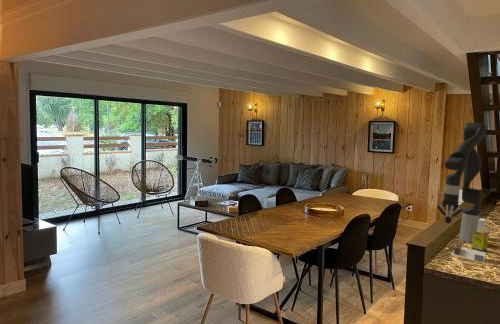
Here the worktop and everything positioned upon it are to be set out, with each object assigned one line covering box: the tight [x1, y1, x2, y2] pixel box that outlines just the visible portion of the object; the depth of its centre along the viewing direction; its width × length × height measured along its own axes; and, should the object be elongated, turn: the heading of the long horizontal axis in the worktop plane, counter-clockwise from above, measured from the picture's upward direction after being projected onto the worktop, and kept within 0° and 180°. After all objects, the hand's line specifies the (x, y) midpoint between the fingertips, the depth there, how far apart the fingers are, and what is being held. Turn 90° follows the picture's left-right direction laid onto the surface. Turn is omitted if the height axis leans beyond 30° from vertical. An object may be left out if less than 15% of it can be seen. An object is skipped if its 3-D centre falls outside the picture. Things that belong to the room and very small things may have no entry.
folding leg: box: [453, 242, 463, 255], centre depth 205 cm, size 14×2×4 cm, turn 146°
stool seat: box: [451, 247, 487, 263], centre depth 203 cm, size 21×15×2 cm
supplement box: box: [471, 230, 490, 252], centre depth 217 cm, size 6×6×11 cm
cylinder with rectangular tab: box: [478, 217, 490, 233], centre depth 246 cm, size 9×9×12 cm
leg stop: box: [473, 254, 484, 263], centre depth 192 cm, size 2×4×2 cm, turn 56°
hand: (447, 223), depth 210 cm, fingers closed
